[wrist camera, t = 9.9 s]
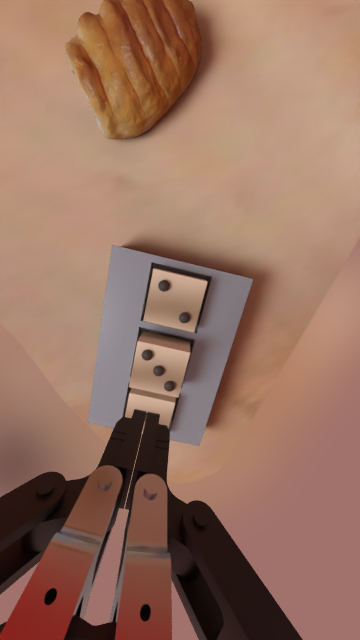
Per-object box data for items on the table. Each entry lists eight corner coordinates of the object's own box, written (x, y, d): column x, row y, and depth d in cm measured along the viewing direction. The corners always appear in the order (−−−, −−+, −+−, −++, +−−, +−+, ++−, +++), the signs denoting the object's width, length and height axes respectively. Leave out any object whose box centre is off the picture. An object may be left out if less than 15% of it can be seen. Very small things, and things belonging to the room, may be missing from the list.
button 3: (143, 330, 20) (137, 341, 17) (189, 341, 20) (190, 353, 17) (135, 372, 21) (128, 388, 18) (179, 382, 21) (178, 399, 19)
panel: (120, 246, 20) (112, 244, 18) (245, 276, 20) (253, 279, 18) (97, 406, 25) (87, 422, 23) (198, 428, 25) (199, 445, 23)
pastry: (175, -13, 15) (172, -97, 12) (216, 92, 17) (224, 46, 13) (69, 69, 17) (37, 17, 13) (116, 158, 18) (99, 134, 15)
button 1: (135, 378, 23) (128, 394, 20) (176, 387, 23) (175, 404, 20) (128, 413, 24) (121, 432, 21) (167, 421, 24) (165, 441, 21)
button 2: (157, 267, 19) (153, 268, 17) (204, 278, 20) (207, 282, 17) (148, 313, 21) (142, 321, 18) (193, 323, 21) (194, 333, 18)
